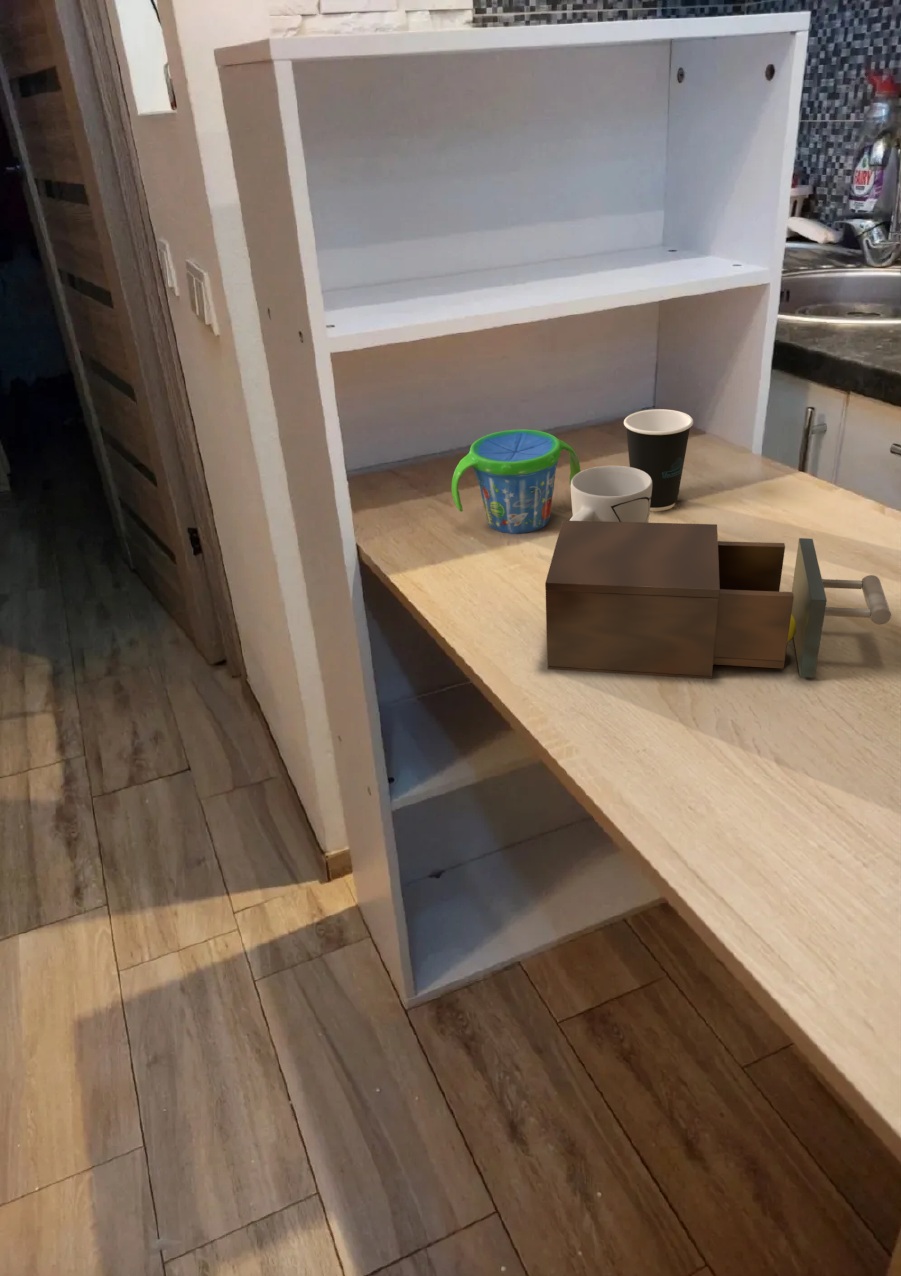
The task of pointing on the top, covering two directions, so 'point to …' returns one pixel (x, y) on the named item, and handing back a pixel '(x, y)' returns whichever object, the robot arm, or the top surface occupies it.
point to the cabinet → (633, 598)
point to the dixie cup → (659, 451)
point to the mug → (611, 494)
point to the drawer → (779, 605)
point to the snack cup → (515, 477)
